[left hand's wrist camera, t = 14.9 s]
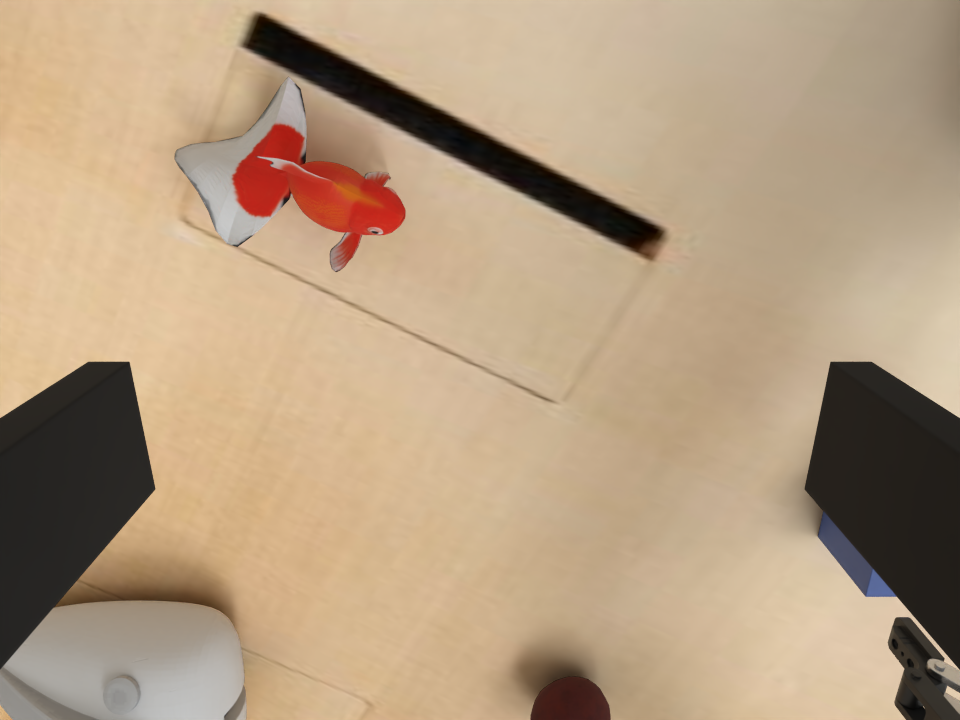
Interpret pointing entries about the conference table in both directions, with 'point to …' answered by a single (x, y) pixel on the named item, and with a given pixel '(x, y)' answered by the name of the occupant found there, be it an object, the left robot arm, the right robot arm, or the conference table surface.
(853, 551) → the brick
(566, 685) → the dark maroon ball
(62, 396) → the left robot arm
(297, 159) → the fish
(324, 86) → the conference table surface
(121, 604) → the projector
